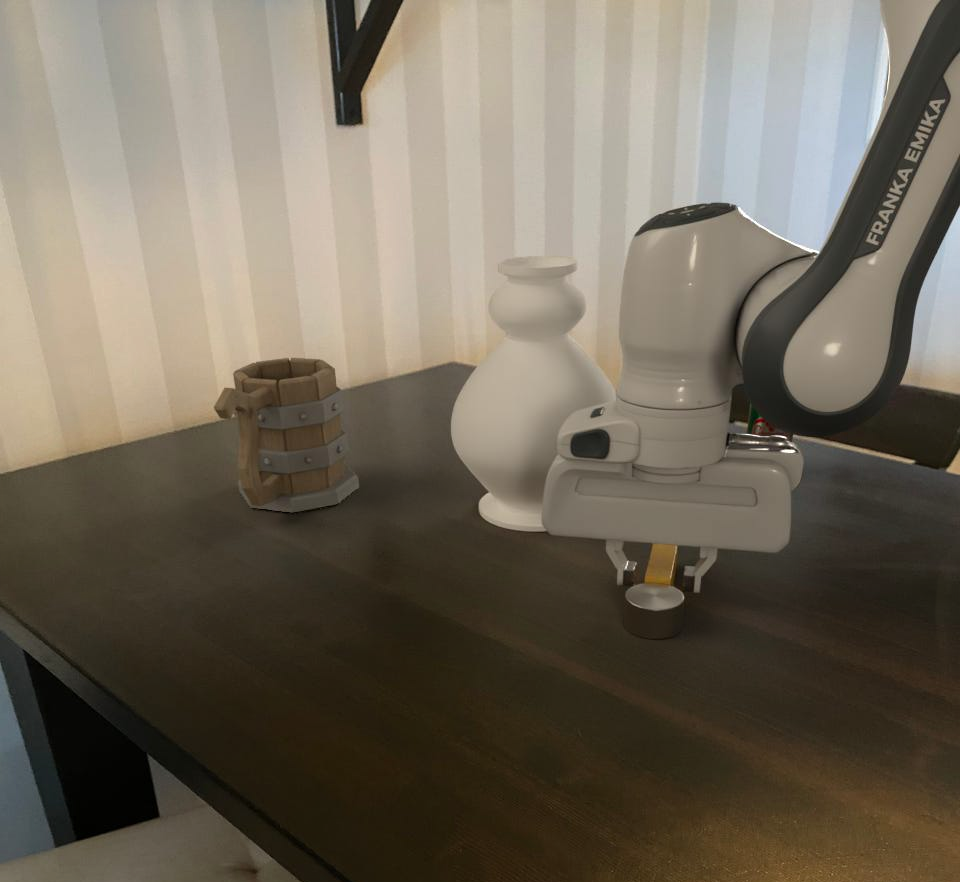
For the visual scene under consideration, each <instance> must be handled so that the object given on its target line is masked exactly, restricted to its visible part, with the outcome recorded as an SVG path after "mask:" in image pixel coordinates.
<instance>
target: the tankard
mask: <svg viewBox="0 0 960 882" xmlns="http://www.w3.org/2000/svg"><path fill="white" fill-rule="evenodd" d="M232 375H233V382H234V387H224V388H223V389H222V392H221V393H220V395H219V397H218V398H217V400H216V402H215V404H214V405H213V410H214V411H215V413H216V414H217V415H218V417H219V419H221V420H222V419H224V420H230V419H231V418H232V417H233V416H234V417H235V418H236V419H237V421H236V422H237V429H238V438H237V445H238V456H237V470H238V476H239V479H238V480H237V485H238V490H239V493H240V495H241V494H242V495H241V496H242V498H243V497H244V498H243V499H244V501H245V500H246V501H245V502H246V504H247V505H248V506H249V508H250V509H252V508H258V509H268V510H274V511H282V512H292V513H293V512H298V511H303V510H308V509H313V508H316V507H323V506H328V505H334V504H337V503H339V504H341V501H342V500H343V499H344V500H346V499H347V498H348V497H349V496H351V495H352V494H353V493H354V492H356V491H357V490H358V489H359V488H360V481H359V476H358V475H357V474H356V473H355V472H354V471H353V470H352V469H351V468H350V467H349V466H348V465H347V464H346V463H345V457H346V456H347V455H349V454H350V447H349V437H348V435H349V434H347V433H346V432H345V431H344V430H343V429H342V425H341V416H340V415H341V414H342V413H344V412H345V411H346V406H345V395H344V391H343V390H342V389H341V388H340V387H338V385H337V377H336V369H335V367H333V366H332V365H330V364H329V363H328V362H326V361H325V360H324V359H319V358H318V359H317V358H303V357H290V358H289V357H282V358H276V359H275V358H274V359H267V360H260V361H255V362H252V363H249V364H247V365H245V366H242V367H240V368H238V369H236V370H234V372H233V373H232ZM356 489H357V490H356ZM355 490H356V491H355ZM353 491H354V492H353ZM352 492H353V493H352ZM351 493H352V494H351ZM350 494H351V495H350ZM348 495H349V496H348ZM347 496H348V497H347ZM346 497H347V498H346ZM345 498H346V499H345ZM344 500H343V501H344ZM343 501H342V502H343ZM258 509H257V510H258ZM274 511H273V512H274ZM282 512H281V513H282Z"/></svg>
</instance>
